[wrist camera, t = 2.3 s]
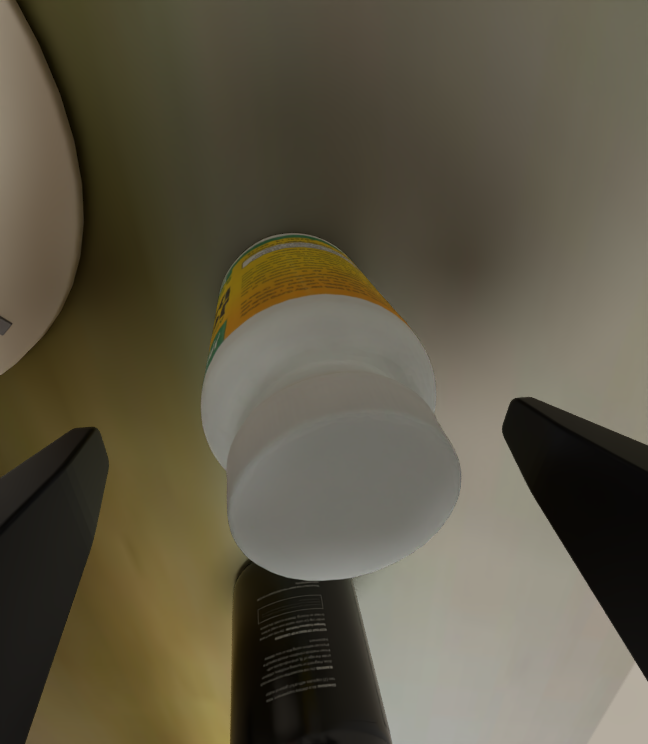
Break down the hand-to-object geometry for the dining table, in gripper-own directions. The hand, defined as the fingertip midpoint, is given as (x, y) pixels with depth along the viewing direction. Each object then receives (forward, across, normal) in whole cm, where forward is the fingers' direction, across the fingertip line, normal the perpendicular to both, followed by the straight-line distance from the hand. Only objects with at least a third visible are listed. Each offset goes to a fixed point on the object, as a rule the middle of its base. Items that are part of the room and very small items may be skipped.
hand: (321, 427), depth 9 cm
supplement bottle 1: (+7, 0, 0) cm, 7 cm away
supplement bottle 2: (+7, 0, +17) cm, 18 cm away
